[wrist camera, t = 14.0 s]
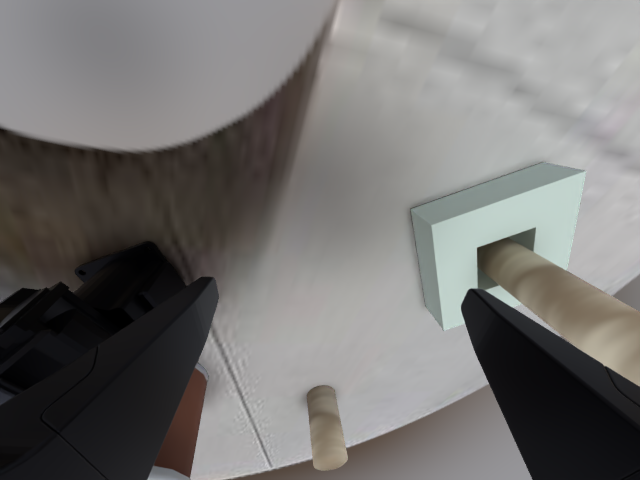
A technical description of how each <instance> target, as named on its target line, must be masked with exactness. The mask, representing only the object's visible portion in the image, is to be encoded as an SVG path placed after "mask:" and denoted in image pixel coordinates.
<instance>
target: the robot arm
mask: <svg viewBox="0 0 640 480" xmlns="http://www.w3.org/2000/svg"><path fill="white" fill-rule="evenodd" d="M146 247H149V248H150V249H151V250H148V249H147V248H146ZM82 270H83V271H85V272H83V271H82ZM75 274H76V275H77V276H78V277H79V278H80V279H81V280H82V281H83V282H84V284H83V285H82V286H81V287H79V288H78V289H77V290H76V291H75V292H74V293H72V292H71V291H69V290H68V289H69V287H68V286H66V285H65V284H63V283H62V282H59V283H57V284H56V285H54V286H52V287H50V288H49V289H48V288H47V287H46V288H44V289H42V290H41V289H39V290H34V289H27V288H22V289H20V290H18V291H16V292H15V293H13V294H12V295H10V296H9V297H7V298H6V299H4V300H3V301H2V302H0V480H147V479H148V477H149V475H150V472H151V470H152V468H153V465H154V463H155V460H156V458H157V456H158V453H159V451H160V449H161V446H162V444H163V442H164V439H165V437H166V435H167V432H168V430H169V428H170V425H171V423H172V420H173V418H174V416H175V413H176V411H177V409H178V406H179V404H180V402H181V399H182V397H183V395H184V392H185V390H186V388H187V385H188V383H189V380H190V378H191V376H192V373H193V371H194V369H195V366H196V364H197V362H198V359H199V357H200V355H201V352H202V350H203V347H204V345H205V342H206V340H207V337H208V334H209V330H210V327H211V323H212V320H213V317H214V313H215V310H216V307H217V303H218V299H219V294H218V289H217V285H216V280H215V278H213V277H201V278H199V279H198V280H196V281H195V282H193V283H192V284H190V285H189V286H187V287H186V286H185V283H184V282H183V280H182V279H181V278H180V276H179V275H178V274H177V272H176V271H175V270H174V268H173V267H172V266H171V264H170V263H169V262H167V260H166V259H165V258H164V256H163V255H162V254H161V252H160V251H159V250H158V248H157V247H156V245H155V244H154V243H152V242H144V243H141V244H138V245H135V246H132V247H130V248H127V249H124V250H121V251H119V252H116V253H113V254H110V255H107V256H105V257H102V258H99V259H96V260H94V261H91V262H88V263H85V264H82V265H80V266H79V267H77V268H76V269H75ZM461 312H462V315H463V318H464V321H465V324H466V327H467V330H468V333H469V336H470V339H471V342H472V345H473V348H474V351H475V353H476V355H477V358H478V360H479V362H480V364H481V367H482V369H483V371H484V373H485V376H486V378H487V380H488V382H489V384H490V387H491V389H492V391H493V393H494V395H495V398H496V400H497V402H498V404H499V407H500V409H501V411H502V413H503V415H504V418H505V420H506V422H507V424H508V426H509V429H510V431H511V433H512V435H513V437H514V440H515V442H516V444H517V446H518V448H519V451H520V453H521V455H522V457H523V460H524V462H525V464H526V466H527V468H528V471H529V473H530V475H531V477H532V479H533V480H640V386H638V385H636V384H635V383H633V382H631V381H630V380H628V379H626V378H625V377H623V376H622V375H620V374H618V373H617V372H615V371H614V370H612V369H610V368H609V367H607V366H604V365H603V364H602V363H601V362H599V361H597V360H596V359H594V358H593V357H591V356H589V355H588V354H586V353H585V352H583V351H581V350H580V349H578V348H577V347H575V346H573V345H572V344H570V343H569V342H567V341H565V340H564V339H562V338H561V337H559V336H557V335H556V334H554V333H552V332H551V331H549V330H548V329H546V328H544V327H543V326H541V325H540V324H538V323H536V322H535V321H533V320H532V319H530V318H528V317H527V316H525V315H524V314H522V313H520V312H519V311H517V310H516V309H514V308H512V307H511V306H509V305H508V304H506V303H504V302H503V301H501V300H500V299H498V298H496V297H495V296H493V295H492V294H490V293H488V292H487V291H485V290H483V289H479V288H471V289H469V290H468V291H467V293H466V295H465V297H464V300H463V302H462V304H461Z"/></svg>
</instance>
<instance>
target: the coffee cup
mask: <svg viewBox="0 0 640 480" xmlns="http://www.w3.org/2000/svg"><path fill="white" fill-rule="evenodd" d="M208 377H209V376H208V374H207V372H206V369H205V368H203V367H202V366H201V365H200V364H198V363H197V364H196V366H195V369H194V371H193V373H192V376H191V378H190V380H189V383H188V385H187V388H186V390H185V392H184V395H183V397H182V399H181V402H180V404H179V406H178V409H177V411H176V413H175V416H174V418H173V420H172V423H171V425H170V428H169V430H168V432H167V435H166V437H165V439H164V442H163V444H162V446H161V449H160V451H159V453H158V456H157V458H156V460H155V463H154V465H153V468H152V470H151V472H150V475H149V477H148V479H147V480H191V479H190V475H191V469H192V464H193V458H194V453H195V447H196V441H197V436H198V430H199V424H200V419H201V413H202V408H203V402H204V396H205V391H206V386H207V381H208Z"/></svg>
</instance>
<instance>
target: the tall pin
mask: <svg viewBox="0 0 640 480" xmlns="http://www.w3.org/2000/svg"><path fill="white" fill-rule="evenodd" d="M477 268H479V269H480V270H481V271H482V272H484V273H485V274H486V275H487V276H488V277H490V278H491V279H492V280H493V281H495V282H496V283H497V284H498V285H500V286H501V287H502V288H503V289H505V290H506V291H507V292H508V293H510V294H511V295H512V296H513V297H515V298H516V299H517V300H518V301H519V302H521V303H522V304H523V305H524V306H526V307H527V308H528V309H529V310H531V311H532V312H533V313H534V314H536V315H537V316H538V317H539V318H541V319H542V320H543V321H544V322H546V323H547V324H548V325H549V326H551V327H552V328H553V329H554V330H555V331H557V332H558V333H559V334H560V335H562V336H563V337H564V338H565V339H567V340H568V341H569V342H570V343H572V344H573V345H574V346H575V347H577V348H578V349H580V350H581V351H583V352H585V353H586V354H588V355H589V356H591V357H593V358H594V359H596V360H597V361H599V362H601V363H602V364H603V365H604V366H607V367H609V368H610V369H612V370H614V371H615V372H617V373H618V374H620V375H622V376H623V377H625V378H626V379H628V380H630V381H631V382H633V383H635V384H636V385H638V386H640V312H639V311H637V310H635V309H633V308H632V307H630V306H628V305H626V304H624V303H623V302H621V301H619V300H617V299H616V298H614V297H612V296H610V295H609V294H607V293H605V292H603V291H602V290H600V289H598V288H596V287H595V286H593V285H591V284H589V283H587V282H586V281H584V280H582V279H580V278H579V277H577V276H575V275H573V274H572V273H570V272H568V271H566V270H564V269H563V268H561V267H559V266H557V265H556V264H554V263H552V262H550V261H549V260H547V259H545V258H543V257H541V256H540V255H538V254H536V253H534V252H533V251H531V250H529V249H527V248H526V247H524V246H522V245H520V244H518V243H517V242H515V241H513V240H511V239H510V238H508V237H506V238H503V239H500V240H497V241H495V242H492V243H489V244H486V245H483V246H480V247H477Z"/></svg>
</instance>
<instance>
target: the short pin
mask: <svg viewBox="0 0 640 480" xmlns="http://www.w3.org/2000/svg"><path fill="white" fill-rule="evenodd" d="M307 403H308V414H309V424H310V435H311V446H312V456H313V465H314V467H315V468H316V469H318V470H332V469H336V468H338V467H340V466H342V465H344V464H345V463H346V461H347V459H348V458H347V452H346V446H345V441H344V436H343V431H342V426H341V421H340V416H339V410H338V405H337V400H336V395H335V390H334V389H333V388H332V387H330V386H318V387H315V388H313V389H311V390H310V391H309V392H308V394H307Z"/></svg>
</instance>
